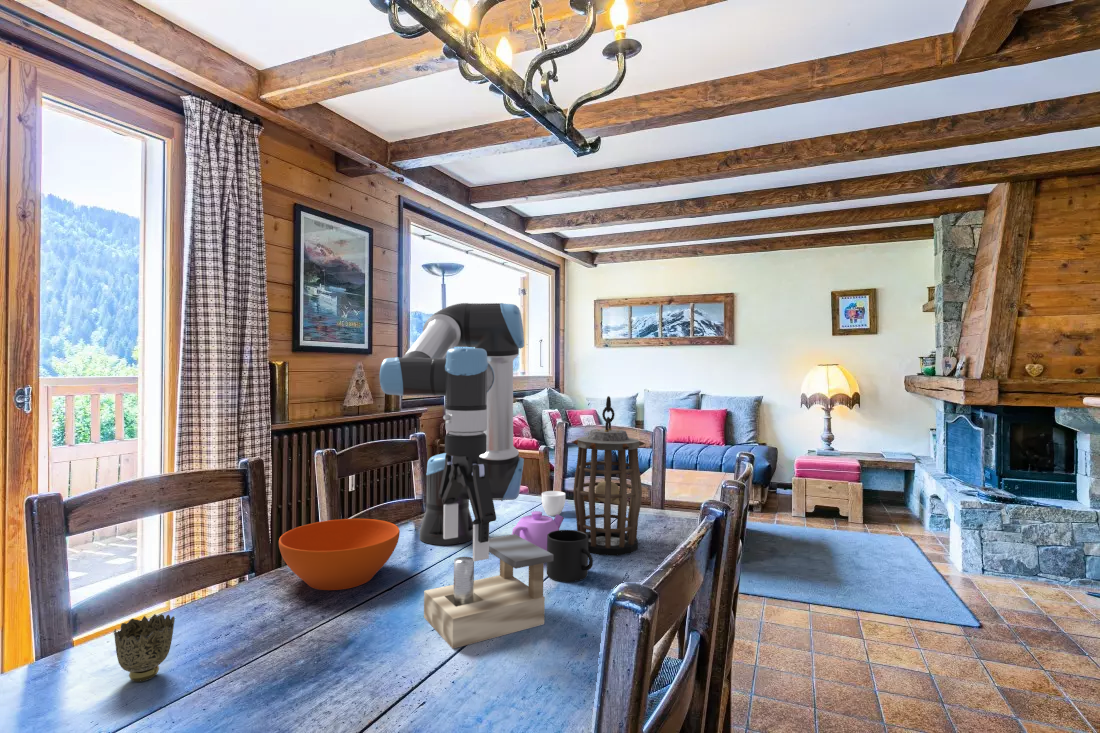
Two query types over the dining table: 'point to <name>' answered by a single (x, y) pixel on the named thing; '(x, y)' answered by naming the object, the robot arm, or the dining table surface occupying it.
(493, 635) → the socket porch
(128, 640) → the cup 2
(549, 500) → the cup
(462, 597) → the peg
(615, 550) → the lantern
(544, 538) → the teapot
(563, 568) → the mug
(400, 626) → the dining table surface
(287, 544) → the bowl
